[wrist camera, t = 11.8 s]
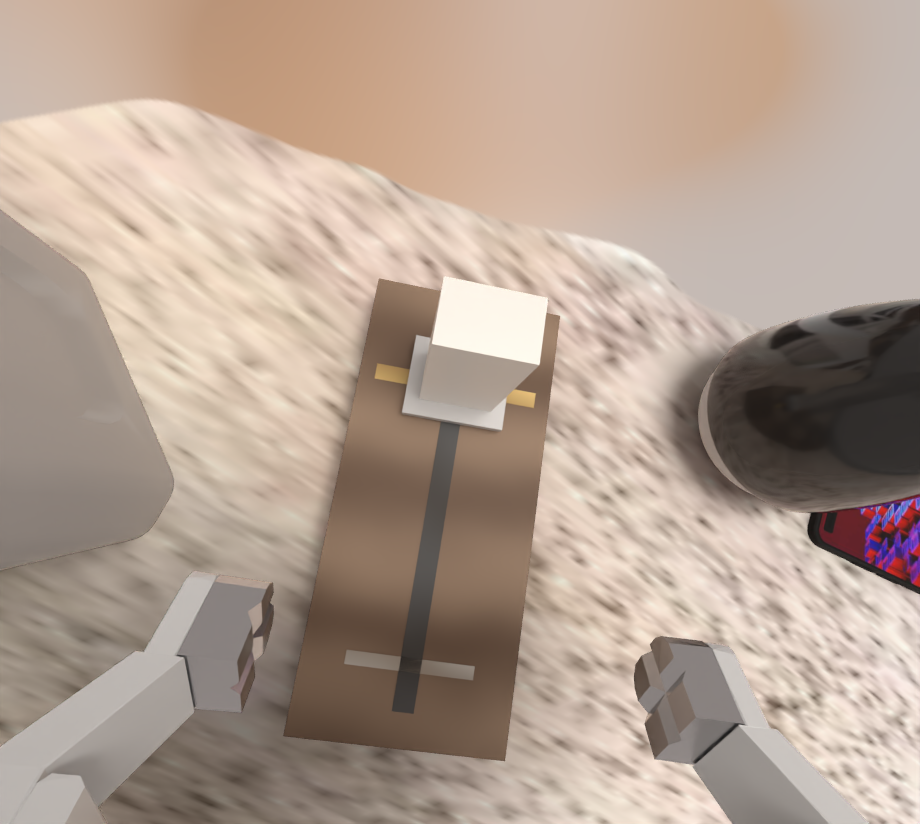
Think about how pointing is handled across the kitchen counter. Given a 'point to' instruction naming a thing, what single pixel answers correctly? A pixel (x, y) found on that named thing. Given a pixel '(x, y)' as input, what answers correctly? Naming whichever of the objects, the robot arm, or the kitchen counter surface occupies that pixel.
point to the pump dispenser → (821, 410)
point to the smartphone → (875, 539)
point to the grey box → (67, 415)
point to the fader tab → (475, 354)
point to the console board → (422, 559)
